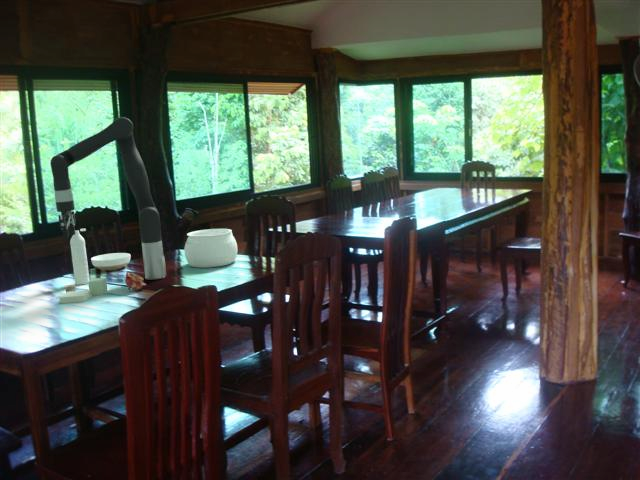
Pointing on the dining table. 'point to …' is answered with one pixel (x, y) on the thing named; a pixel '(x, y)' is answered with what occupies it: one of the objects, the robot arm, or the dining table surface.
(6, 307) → the dining table surface
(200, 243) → the pot
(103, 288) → the green cube
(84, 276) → the white bottle
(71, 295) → the trivet
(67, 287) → the grey block
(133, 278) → the flower
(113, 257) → the bowl
